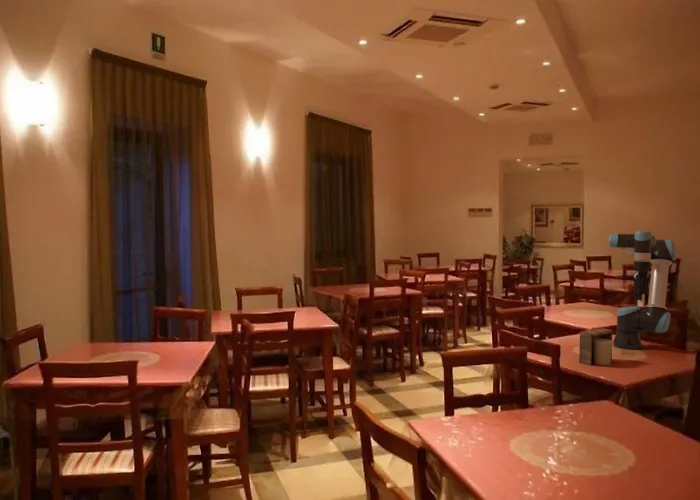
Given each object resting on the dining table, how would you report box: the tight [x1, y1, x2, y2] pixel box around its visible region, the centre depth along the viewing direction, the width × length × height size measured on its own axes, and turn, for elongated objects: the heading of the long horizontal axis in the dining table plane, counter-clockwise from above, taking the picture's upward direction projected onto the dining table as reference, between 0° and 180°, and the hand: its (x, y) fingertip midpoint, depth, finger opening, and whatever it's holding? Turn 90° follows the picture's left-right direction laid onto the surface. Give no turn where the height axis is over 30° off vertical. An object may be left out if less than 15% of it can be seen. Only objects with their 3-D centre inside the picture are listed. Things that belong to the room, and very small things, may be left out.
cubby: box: [578, 327, 613, 366], centre depth 289 cm, size 18×6×16 cm, turn 121°
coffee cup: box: [593, 338, 613, 366], centre depth 287 cm, size 9×9×12 cm
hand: (640, 306), depth 286 cm, fingers closed
